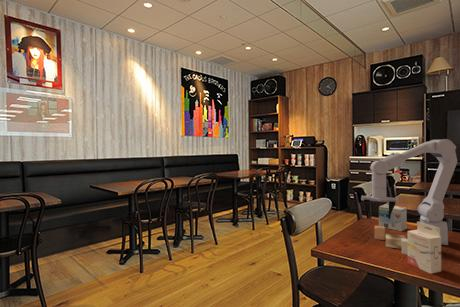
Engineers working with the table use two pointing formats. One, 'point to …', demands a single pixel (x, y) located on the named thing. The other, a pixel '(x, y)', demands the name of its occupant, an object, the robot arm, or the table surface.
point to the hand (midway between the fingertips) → (379, 217)
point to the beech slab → (394, 240)
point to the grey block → (404, 246)
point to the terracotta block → (379, 232)
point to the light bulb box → (393, 217)
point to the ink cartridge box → (425, 248)
